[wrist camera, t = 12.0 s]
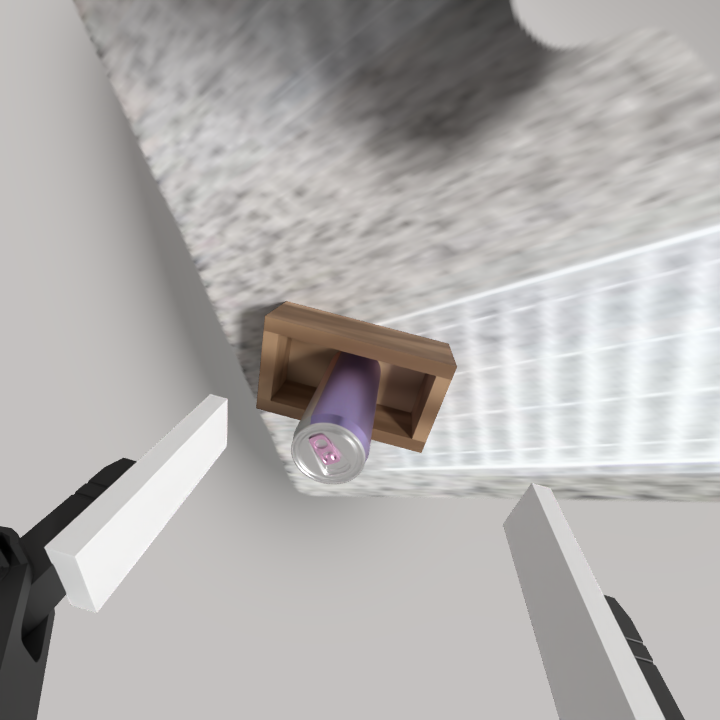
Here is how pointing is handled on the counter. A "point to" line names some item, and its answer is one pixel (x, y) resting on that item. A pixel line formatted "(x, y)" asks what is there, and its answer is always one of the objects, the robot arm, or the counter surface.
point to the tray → (388, 346)
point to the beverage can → (338, 421)
